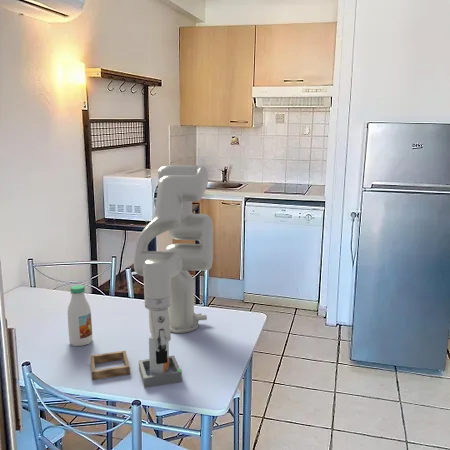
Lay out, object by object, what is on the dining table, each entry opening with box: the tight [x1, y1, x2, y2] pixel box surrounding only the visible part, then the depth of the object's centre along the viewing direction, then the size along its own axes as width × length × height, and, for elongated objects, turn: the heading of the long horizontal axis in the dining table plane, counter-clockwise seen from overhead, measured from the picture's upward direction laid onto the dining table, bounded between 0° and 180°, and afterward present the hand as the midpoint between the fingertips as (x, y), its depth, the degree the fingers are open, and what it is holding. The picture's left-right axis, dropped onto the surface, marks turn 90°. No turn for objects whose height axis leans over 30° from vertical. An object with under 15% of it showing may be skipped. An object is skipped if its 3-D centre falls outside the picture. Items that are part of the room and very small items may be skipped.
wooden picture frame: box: [89, 350, 131, 381], centre depth 149 cm, size 11×11×2 cm
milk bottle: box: [67, 284, 93, 347], centre depth 165 cm, size 8×8×20 cm
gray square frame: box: [138, 355, 183, 389], centre depth 144 cm, size 11×11×4 cm
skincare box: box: [148, 334, 170, 376], centre depth 143 cm, size 6×4×12 cm
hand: (159, 356), depth 144 cm, fingers closed on skincare box, 7 cm apart
